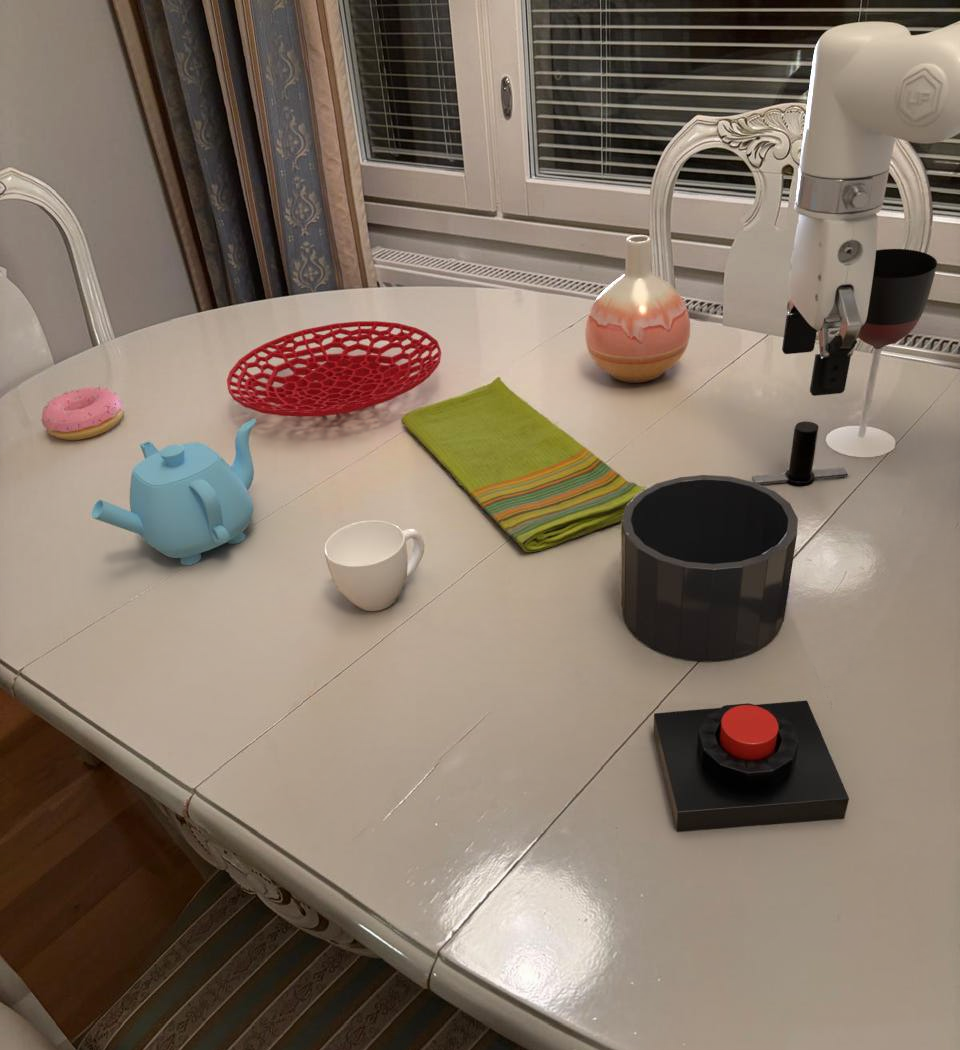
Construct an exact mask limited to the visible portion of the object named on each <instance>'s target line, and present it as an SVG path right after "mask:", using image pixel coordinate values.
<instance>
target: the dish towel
mask: <svg viewBox="0 0 960 1050" xmlns="http://www.w3.org/2000/svg"><path fill="white" fill-rule="evenodd" d="M400 422H401V424H402V425H403V426H404V427H405V428H406V429H407V430H408V431H409V432H410V433H411V434H412V435H413V436H414V437H415V438H416V439H417V440H418V441H419V442H420V443H421V444H422V445H423V446H424V447H425V448H426V449H427V450H428V451H429V452H430V453H431V454H432V455H433V456H434V457H435V458H436V459H437V460H438V462H439V463H440V464H441V465H442V466H443V467H444V468H445V469H446V470H447V471H448V472H449V473H450V475H451V476H452V477H453V478H454V479H455V480H456V481H457V483H458V484H459V485H460V486H461V487H462V488H463V490H465V491H466V492H467V493H468V494H469V496H471V497H472V498H473V499H474V501H476V502H477V503H478V505H480V507H481V508H482V509H483V510H484V511H485V512H486V513H487V514H488V516H489V517H490V518H492V519H493V520H494V521H495V523H496V524H497V525H498V526H499V527H500V528H501V529H502V530H503V531H504V532H505V534H507V536H508V537H510V538H511V539H512V540H513V541H514V542H515V543H517V544H518V545H519V547H520V549H521V550H522V551H523V552H525V553H536V552H540V551H544V550H547V549H549V548H552V547H555V546H558V545H560V544H562V543H565V542H568V541H570V540H573V539H575V538H579V537H581V536H584V535H588V534H591V533H593V532H595V531H599V530H601V529H603V528H606V527H609V526H612V525H615V524H617V523H620V522H622V517H623V514H624V511H625V508H626V505H627V504H628V503H629V502H630V501H631V500H632V499H633V498H634V497H635V496H636V495H637V494H638V493H640V492H642V491H644V490H645V489H646V488H644V486H641V485H638V483H635V482H632V481H627V479H626V478H624V477H623V476H622V475H621V474H620V473H618V472H617V471H616V470H615V469H613V468H612V467H611V466H610V465H608V464H607V463H605V462H604V461H603V460H602V459H600V458H599V457H598V456H596V454H594V453H593V452H592V451H590V450H589V449H588V448H586V447H585V446H584V445H583V444H581V442H578V441H577V440H576V439H575V438H574V437H572V436H571V435H570V434H569V433H567V432H566V431H565V430H564V429H562V428H561V427H559V426H558V425H557V424H556V423H553V422H552V421H551V420H550V419H548V417H546V416H545V415H544V414H542V413H540V412H539V411H538V410H536V408H534V407H533V406H532V405H531V404H529V403H528V402H527V401H526V400H525V399H523V398H521V397H520V396H519V395H517V394H516V393H515V392H514V391H513V390H511V388H510V387H508V385H506V384H505V382H504V381H503V380H502V379H501V377H500V376H497V377H496V378H495V379H494V380H493V381H492V382H490V383H487V384H486V385H482V386H480V387H477V388H474V389H473V390H472V389H471V390H470V391H468V392H465V393H462V394H460V395H457V396H454V397H450V398H446V399H444V400H441V401H437V402H435V403H431V404H428V405H425V406H421V407H418V408H416V409H414V410H412V411H409V412H407V413H405V414H404V415H403V416H402V418H401V419H400Z"/></svg>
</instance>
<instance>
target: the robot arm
mask: <svg viewBox="0 0 960 1050" xmlns="http://www.w3.org/2000/svg"><path fill="white" fill-rule="evenodd" d="M803 126H804V127H803V135H802V142H801V149H800V150H801V151H800V158H799V166H798V167H799V168H798V172H797V180H796V187H795V188H796V189H795V195H794V204H793V205H794V206H793V210H794V211H795V212H796V213H797V214H799V215H798V220H797V226H796V231H795V236H794V241H793V248H792V252H791V260H790V267H789V276H788V291H787V292H788V296H789V300H788V301H787V303H786V312H787V314H786V317H785V323H784V332H783V339H782V348H781V350H782V352H783V354H784V355H792V354H805V353H811V352H813V351H814V350H815V347H816V346H815V345H816V338H817V334H818V347H819V348H818V349H819V353H818V354H817V353H816V354H815V355H814V360H813V361H814V362H813V369H812V374H811V380H810V386H809V393H810V394H811V396H813V397H816V396H827V395H837V394H839V395H840V394H843V393H844V392H845V390H846V385H847V380H848V375H849V369H850V363H851V359H852V356H853V355H854V351H855V347H856V345H857V343H858V339H857V338H858V337H857V336H858V334H859V332H860V329H861V326H863V325H864V323H865V322H866V319H867V314H868V308H869V301H870V294H871V288H872V281H873V273H874V265H875V257H876V250H877V246H878V223H879V222H878V221H879V220H878V218H879V217H878V215H877V214H879V212H881V211H882V209H883V206H884V201H885V195H886V190H887V186H888V185H887V184H888V178H889V175H890V170H891V169H890V166H891V161H892V156H893V151H894V146H895V141H896V139H898V140H901V141H905V142H908V143H915V144H925V145H926V144H936V143H939V142H940V143H941V142H944V141H946V140H947V141H948V140H949V139H951V138H953V137H955V136H958V135H959V134H960V20H958V21H956V22H954V23H952V24H951V23H950V24H949V25H947V26H944V27H942V28H938V29H936V30H932V31H929V32H926V33H920V34H915V35H913V34H911V32H910V30H909V28H908V27H906V26H905V25H902V24H900V23H898V22H897V23H896V22H891V21H890V22H888V21H860V22H858V21H857V22H851V23H845V24H840V25H836V26H834V27H831V28H829V29H827V30H826V31H824V33H822V35H820V38H819V39H818V40H817V43H816V45H815V47H814V52H813V58H812V64H811V73H810V80H809V88H808V96H807V104H806V112H805V120H804V125H803ZM838 318H839V320H834V321H833V320H832V321H827V320H829V319H838ZM829 332H838V333H839V334H837V335H834V337H833V338H831V340H830V337H829V336H830V335H829Z"/></svg>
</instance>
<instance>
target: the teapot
mask: <svg viewBox="0 0 960 1050" xmlns="http://www.w3.org/2000/svg"><path fill="white" fill-rule="evenodd" d="M256 423H257V419H256V418H252V419H250V420H248V421H246V422H245V423H244V424H242V425H241V426H240V427H239V428H238V430H237V431H236V435H235V438H234V448H235V457H234V461H233V463H232V464H231V466H230V464H228V462H227V461H226V460H225V459H224V458H223V457H222V456H221V455H220V453H218V452H217V451H216V450H214V449H213V448H211V447H210V446H209V445H207V444H204V443H202V442H198V441H191V442H186V443H181V444H170V445H167V446H165V447H163V448H162V449H160V450H159V449H157V447H156V446H155V444H154V443H153V442H151V440H146V441H144V442H141V443H139V446H140V448H141V451H142V455H143V457H144V459H142V460H140V461H139V462H138V463H136V464H135V466H133V468H132V471H131V476H130V477H131V478H130V485H129V508H130V509H129V510H127V509H125V508H122V507H120V506H117V505H115V504H113V503H110V502H107V501H105V500H103V499H99V500H97V501H96V502H95V503H94V505H93V507H92V511H91V517H92V519H94V520H97V521H100V522H103V523H106V524H108V525H111V526H114V527H116V528H120V529H123V530H125V531H128V532H131V533H134V534H137V535H139V536H140V537H141V538H142V539H143V541H144V542H146V543H147V544H148V545H150V547H152V548H153V549H155V551H156V550H157V552H159V553H161V554H162V555H164V556H167V557H169V558H173V559H180V564H181V565H184V566H191V565H195V564H197V563H199V562H200V561H201V559H202V553H204V552H207V551H210V550H213V549H215V548H217V547H219V546H222V545H224V544H226V543H227V544H229V545H235V544H239V543H241V542H243V541H244V540H245V539H246V537H247V535H246V533H244V531H245V530H246V529H247V528H248V526H249V525H250V523H251V521H252V518H253V513H254V503H253V500H252V497H251V495H250V493H249V489H250V488H251V486H252V484H253V481H254V477H255V476H254V475H255V468H254V461H253V457H252V453H251V448H250V435H251V432H252V430H253V428H254V426H255V424H256Z"/></svg>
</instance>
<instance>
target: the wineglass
mask: <svg viewBox="0 0 960 1050" xmlns="http://www.w3.org/2000/svg"><path fill="white" fill-rule="evenodd" d="M937 267H938V261H937V259H936V258H935V257H934V256H933V255H931V254H928V253H927V252H923V251H919V250H913V249H907V248H885V249H876V257H875V265H874V273H873V281H872V288H871V294H870V301H869V308H868V314H867V319H866V322H865V323H864V325H863V326H861V329H860V332H859V334H858V336H857V338H858V339H859V340H861V341H862V342H863V343H865V344H867V345H870V346H871V347H873V352H872V357H871V364H870V368H869V373H868V378H867V384H866V389H865V395H864V400H863V406H862V410H861V416H860V421H859V425H846V426H842V427H838V428H835V429H833V430H831V431H830V432H828V434H826V438H825V442H826V445H827V446H828V447H829V448H830V449H831V450H832V451H834V452H835V451H836V453H839V454H842V455H844V456H849V457H854V458H856V457H857V458H874V457H880V456H884V455H886V454H889V453H890V452H891V451H893V450H894V449H895V447H896V443H897V442H896V440H895V438H894V437H893V436H892V435H891V434H890V433H888V432H887V431H885V430H883V429H881V428H876V427H872V426H868V422H869V417H870V411H871V406H872V402H873V401H872V400H873V396H874V389H875V386H876V385H875V384H876V380H877V376H878V375H877V374H878V370H879V363H880V359H881V353H882V349H883V348H884V347H886V346H889V345H893V344H895V343H897V342H899V341H901V340H903V339H904V338H905V337H907V336H908V335H909V334H910V333H911V332H912V331H913V330H914V329H915V327H916V326H917V324H918V323H919V321H920V319H921V317H922V316H923V313H924V311H925V309H926V306H927V303H928V299H929V296H930V293H931V291H932V286H933V282H934V279H935V274H936V270H937Z"/></svg>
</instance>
